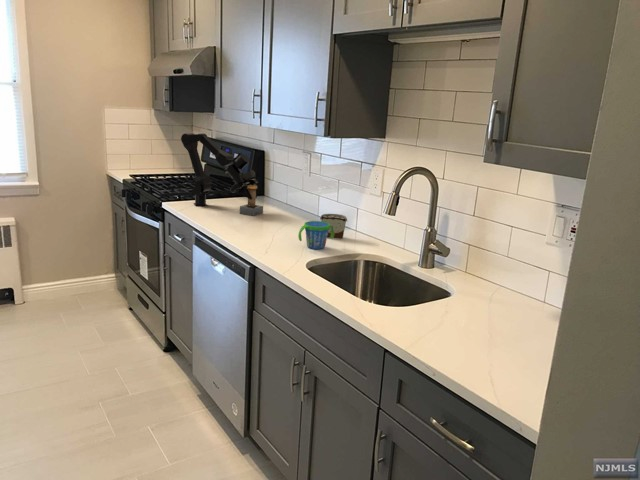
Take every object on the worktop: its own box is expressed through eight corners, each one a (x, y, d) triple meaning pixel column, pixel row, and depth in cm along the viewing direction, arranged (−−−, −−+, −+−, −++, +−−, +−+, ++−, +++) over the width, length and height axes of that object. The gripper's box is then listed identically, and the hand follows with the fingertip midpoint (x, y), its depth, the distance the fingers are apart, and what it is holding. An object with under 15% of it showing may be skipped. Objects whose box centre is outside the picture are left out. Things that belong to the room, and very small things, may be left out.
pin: (243, 210, 263) (244, 185, 260) (251, 209, 268) (252, 184, 264) (251, 212, 260) (252, 187, 257) (258, 210, 264) (259, 186, 261)
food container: (346, 236, 232) (348, 214, 229) (346, 239, 226) (347, 217, 223) (320, 233, 233) (321, 212, 230) (318, 237, 227) (320, 215, 224)
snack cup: (301, 251, 203) (303, 227, 200) (294, 244, 212) (295, 221, 210) (337, 250, 208) (339, 226, 205) (328, 243, 218) (330, 220, 215)
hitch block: (239, 213, 262) (239, 206, 261) (248, 211, 270) (248, 203, 269) (254, 216, 259) (254, 208, 258) (262, 213, 267) (263, 205, 266)
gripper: (236, 166, 251) (254, 191, 250) (255, 163, 268) (272, 186, 266) (222, 180, 256) (240, 204, 255) (242, 176, 273) (259, 199, 271)
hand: (253, 198), depth 262 cm, fingers closed on pin, 4 cm apart
